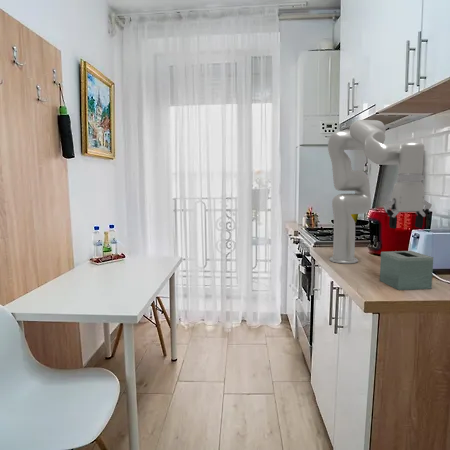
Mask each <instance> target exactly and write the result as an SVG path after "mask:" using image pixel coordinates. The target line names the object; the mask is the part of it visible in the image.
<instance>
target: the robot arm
mask: <svg viewBox="0 0 450 450" xmlns="http://www.w3.org/2000/svg"><path fill="white" fill-rule="evenodd" d="M385 141H386V126H385V123H383V121H380V120H376V119H359V120H355V121H354V122H352V123H351V124H350V126H349V130H338V131H334V132H333V133H331V135H330V136H329V138H328V141H327V152H328V155H329V157H330V162H331V166H332V169H331V171H332V177H333V178H332V179H333V186H334V189H335V190H337V191H339V192H354V193H339V194H336V195H335V196H334V197H333V199H332V201H331V205H332V206H331V207H332V213H333V241H332V243H333V246H332V247H333V249H332V250H333V251H332V256H330V257H329V261H330V262H333V263H337V264H348V265H349V264H356V263H358V262H359V259H358V258H357V257H355V250H356V249H355V248H356V247H355V246H356V244H355V243H356V222H355V219H354V217H353V216H352V215H361V214H363V215H364V214H367V213H369V211H370V209H371V207H372V199H371V186H370V180H369V179H370V178H369V176H368V174H367V173H366V172H365V171H362V170H353V169H352V168H353V167H352V161H351V158H350V156H349V155H348V154H347V152H346V151H363V153H364V155H365V157H366V158H367V159H368V160H369V161H371V162H372V163H374V164H376V165H379V166H381V165H382V166H387V165H388V166H398V167H397V169H398V170H397V181H396V182H395V183H394V185H393V189H392V191H391V192H392V193H391V198H390V200H389V201H387V202H385V203H384V204H383V205H382V207H383V209H384V212H385V213H386V214H387V217H389V218H388V219H389V220H388V221H389V223H388V225H389V228H390V229H394V230H396V229H397V223H398V218H397V217H396V216H397V215H398V214H399V213H415V215H416V216H415V221H414V222H415V223H414V226H415V227H414V228H419V229H423V227H424V219H425V218H426V215H427V214H428V213H429V212H430V209H431V207H432V203H430V202H429V201H427V200H425V188H424V187H425V186H424V183H423V182H422V180H423V181H424V180H425V178H426V177H425V175H423V172H424V171H423V170H424V157H425V145H424V144H423V143H422V142H405V143H385Z"/></svg>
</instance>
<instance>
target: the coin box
mask: <svg viewBox="0 0 450 450" xmlns="http://www.w3.org/2000/svg"><path fill="white" fill-rule="evenodd" d="M379 263H380V264H379V265H380V266H379V281H380V282H382V283H384V284H385V285H387V286H390V287H392V288H393V289H395V290H397V291H405V290H406V291H408V290H409V291H411V290H414V291H415V290H432V286H433V272H434V271H433V270H434V269H433V268H434V257H433V256H430V255H427V254H423V253H421V252H417V251H412V250H398V251H397V250H395V251H393V250H392V251H381V252H380V262H379Z"/></svg>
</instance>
